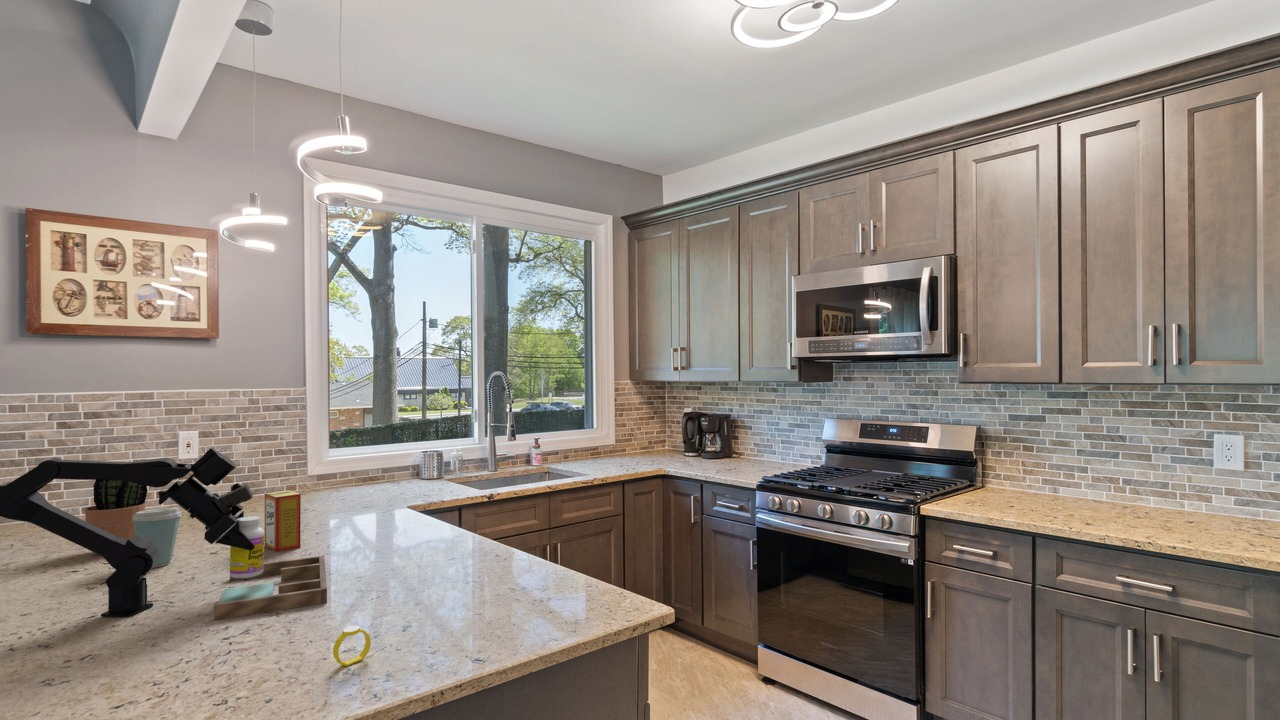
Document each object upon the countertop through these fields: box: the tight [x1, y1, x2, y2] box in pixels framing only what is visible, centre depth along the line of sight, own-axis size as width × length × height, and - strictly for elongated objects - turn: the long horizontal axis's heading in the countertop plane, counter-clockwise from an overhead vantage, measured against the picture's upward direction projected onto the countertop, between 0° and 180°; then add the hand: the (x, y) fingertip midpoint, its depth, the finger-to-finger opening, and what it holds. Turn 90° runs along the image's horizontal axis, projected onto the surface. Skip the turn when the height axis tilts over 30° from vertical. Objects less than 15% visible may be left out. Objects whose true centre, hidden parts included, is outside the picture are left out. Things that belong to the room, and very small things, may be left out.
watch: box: [332, 625, 372, 667], centre depth 111 cm, size 6×3×6 cm, turn 139°
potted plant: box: [84, 480, 148, 556], centre depth 186 cm, size 14×14×25 cm
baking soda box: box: [264, 489, 302, 553], centre depth 188 cm, size 10×6×16 cm
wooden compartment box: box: [213, 555, 328, 621], centre depth 150 cm, size 21×30×3 cm
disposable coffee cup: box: [132, 507, 183, 569], centre depth 171 cm, size 11×11×15 cm
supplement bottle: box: [229, 516, 265, 579], centre depth 147 cm, size 7×7×13 cm
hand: (254, 545), depth 148 cm, fingers closed on supplement bottle, 7 cm apart
